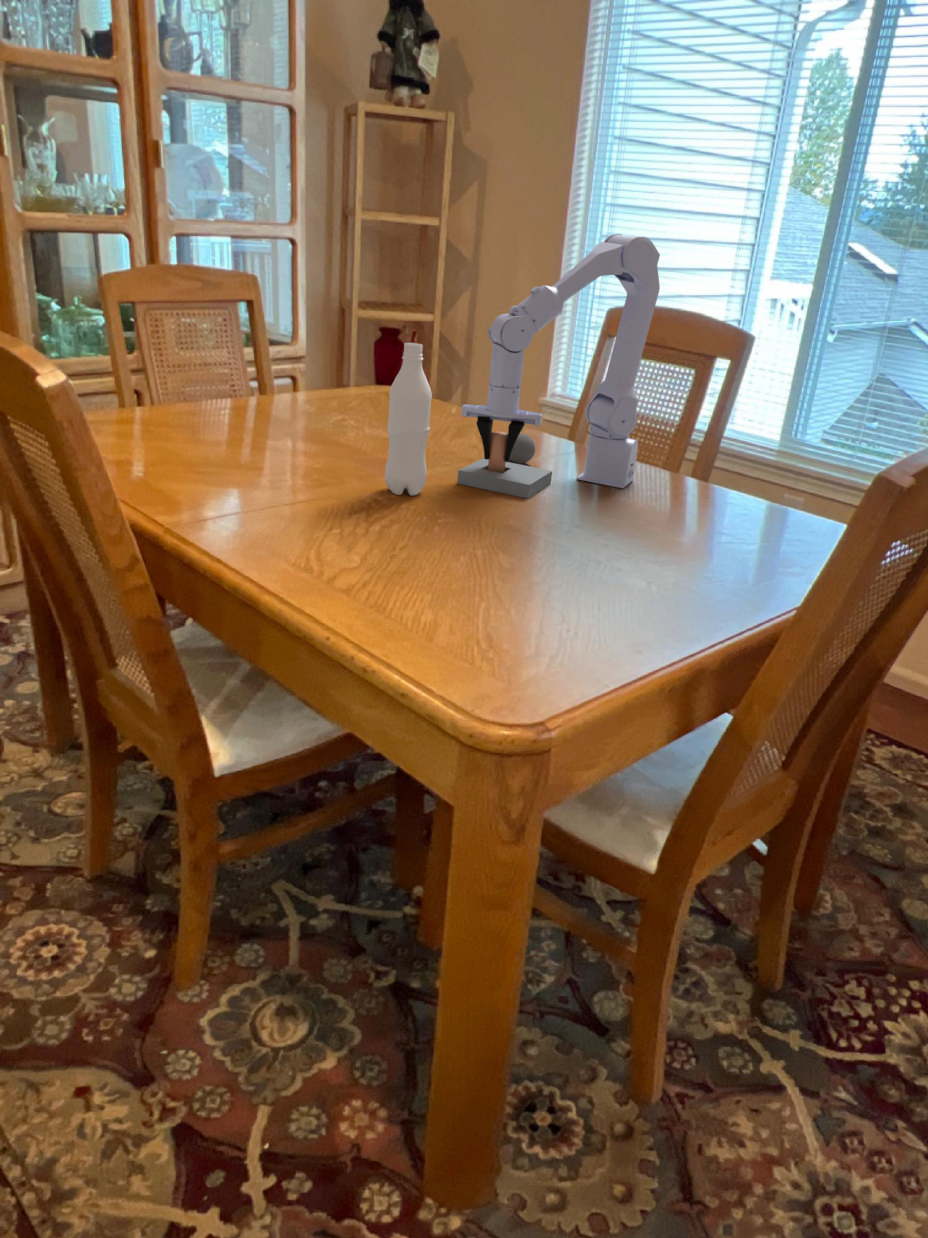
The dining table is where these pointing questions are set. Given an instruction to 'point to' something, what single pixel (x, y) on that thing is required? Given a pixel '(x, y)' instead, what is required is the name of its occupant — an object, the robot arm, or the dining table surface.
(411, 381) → the water bottle
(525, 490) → the socket board
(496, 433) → the peg
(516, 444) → the light bulb
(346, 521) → the dining table surface
